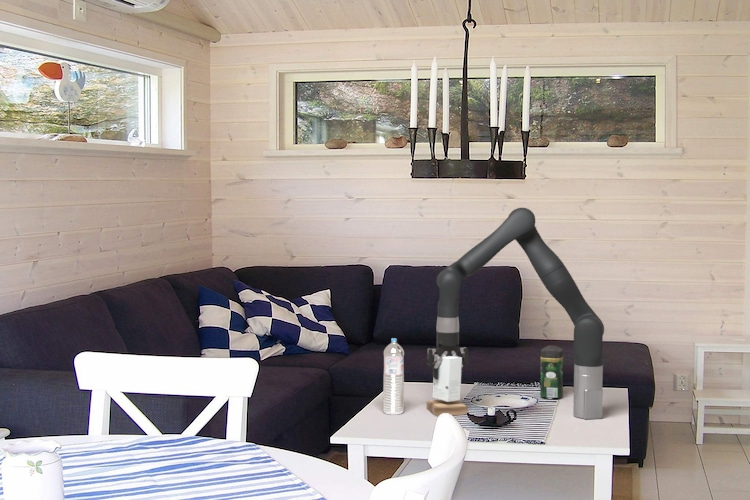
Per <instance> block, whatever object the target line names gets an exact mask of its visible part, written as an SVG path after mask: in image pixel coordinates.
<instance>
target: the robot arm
mask: <svg viewBox="0 0 750 500" xmlns="http://www.w3.org/2000/svg"><path fill="white" fill-rule="evenodd" d="M514 240H515V241H516V243H518V245H519V246H520V247H521V249H522V250H523V252H524V253H525V255H526V256H527V258H528V260H529V262H530V263H531V266H532V267H533V270H534V271H535V272H536V274H537V276H538V278H539V279H540V281H541V283H542V284H543V286H544V287H545V289H546V290H547V291H548V293H549V294H550V295H551V296H552V297H553V298H554V299H555V301H556V302H557V303H559V305H560V306H561V307H563V310H565V312H566V314H567V315H568V316H569V318H570V320H571V322H572V323H573V326H574V328H573V362H574V363H573V405H572V406H573V412H572V413H573V414H572V415H573V417H576V418H580V419H584V420H593V419H594V420H595V419H597V420H598V419H603V400H604V399H603V393H604V392H603V391H604V390H603V378H604V377H603V373H604V370H603V369H604V357H603V337H604V333H605V325H604V322H603V321H602V320H601V318H600V317H599V316H598V315H597V314H596V313H595V311H594V310H593V308H592V307H591V306H590V305H589V303H588V302H587V301H586V299H585V298H584V297H583V296H584V295H583V294H582V292H581V291H580V289H579V286H578V285H577V283H576V281H575V280H574V278H573V277H572V274H571V273H570V271H569V270H568V268H567V266H566V265H565V264H564V262H563V261H562V260H561V259H560V257H559V256H558V255H557V253H555V252H554V251H553V250H552V249H551V248H550V247H549V246H548V245H547V244H546V241H544V240H543V238H542V237H541V235H540V233H539V231H538V229H537V226H536V216H535V214H534V212H533V211H532V210H530V209H529V208H526V207H517V208H515V209H513V210H512V211H511V212H510V213H509V215H508V217H507V218H506V219H505V220H504V221H503V222H502V223H501V224H500V225H499V226H498V227H497V228H496V229H495V230H494V231H493V232H492V233H491V234H489V235H488V236H487V237H485V238H484V239H482V240H481V241H480V242H479V243H477V244H476V245H474V247H472V248H471V249H469V250H468V251H467V252H466V253H464V254H463V255H462V256H461V257H460V258H459V259H457V260H456V261H455V262H453V263H451V264H450V265H447V266H446V267H445V268H444V269H443V270H442V271H440V272H439V273H438V274H437V276H436V285H437V287H438V288H439V300H438V301H437V319H436V329H435V330H436V347H435V348H430V347H428V348H427V350H426V365H427V366H428V367H430V368H432V378H433V377H434V378H435V379H436V380H438V366H439V365H440V363H441V362H442V357H445V356H453V357H455V356H456V357H459V356H458V355H459V354H460V352H461V354H462V368H461V378H462V377H463V368H464V367H465V366H469V348H468V347H465V346H464V347H460V321H459V318H460V317H459V300H460V292H461V282H462V281H463V280H465V279H466V278H468V277H470V276H471V277H472V276H473V275H475V274H476V273H477V272H478V271H479V270H481V269H482V268H483V267H484V266H486V265H487V264H488V263H489V262H490V261H491V260H492V259H493V258H494V257H495V256H496V255H497V254H499V253H500V252H501V250H503V249H504V248H505V247H507V246H508V245H509V244H511V243H512V242H513V241H514ZM435 353H436V354H438V356H439V357H440V358H439V359H435V362H433V361H434V359H433V357H434V355H435Z"/></svg>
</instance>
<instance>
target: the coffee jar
mask: <svg viewBox="0 0 750 500" xmlns="http://www.w3.org/2000/svg"><path fill="white" fill-rule="evenodd" d="M563 378H564V350H563V348H562V347H560V346H559V345H547V346H545V347H543V348H542V349H541V350H540V386H539V387H540V389H539V390H540V392H539V394H540V395H539V396H540V398H542V397H546V398H560V399H561V398H562V397H563V394H564V393H563V392H564V386H563V383H564V382H563V381H564V380H563ZM546 398H545V399H546Z"/></svg>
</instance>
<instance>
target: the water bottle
mask: <svg viewBox="0 0 750 500" xmlns="http://www.w3.org/2000/svg"><path fill="white" fill-rule="evenodd" d="M390 341H391V342H390V343H389V344H388V345H387V346H386V347H385V348H384V350H383V383H382V384H383V388H382V389H383V391H382V392H383V396H382V397H383V403H382V404H383V405H382V406H383V408H382V409H383V413H384V414H386V415H390V416H391V415H392V416H393V415H395V416H396V415H397V416H398V415H401V414H403V413H404V411H405V409H404V408H405V407H404V403H405V402H404V398H405V396H404V395H405V394H404V393H405V391H404V390H405V386H404V385H405V373H404V372H405V371H404V370H405V369H404V364H405V362H404V361H405V358H404V356H405V351H404V349H403V347H402V346H401V345H400V344H399V343H398V338H395V337H394V338H393V337H392V338H391V340H390Z"/></svg>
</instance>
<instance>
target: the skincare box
mask: <svg viewBox="0 0 750 500" xmlns="http://www.w3.org/2000/svg"><path fill="white" fill-rule="evenodd" d="M433 357H434V359H433V361H434V362H435V359H439V358H440V357H439V356H438V354H437V353H436V354H434V355H433ZM462 359H463V356H462V357H461V356H458V357H456V356H455V357H453V356H445V357H442V362H441V363H440V365H439V366H438V380H436V379H435V378H434V377H433V376H432V378H433V380H432V398H433V399H435V400H443V401H446V402H450V401H457V400H459V401H460V400H461V390H462V389H461V386H462V377H461V368H462ZM434 362H433V363H434ZM462 369H463V368H462Z"/></svg>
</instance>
